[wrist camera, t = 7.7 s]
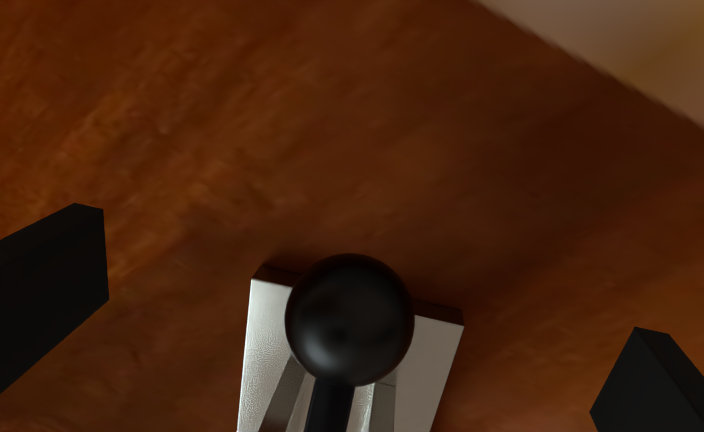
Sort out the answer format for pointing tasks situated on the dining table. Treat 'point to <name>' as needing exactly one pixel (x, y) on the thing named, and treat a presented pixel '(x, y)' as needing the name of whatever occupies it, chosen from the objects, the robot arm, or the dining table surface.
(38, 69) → the dining table surface
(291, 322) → the lever
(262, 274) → the bracket
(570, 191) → the dining table surface
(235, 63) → the dining table surface
